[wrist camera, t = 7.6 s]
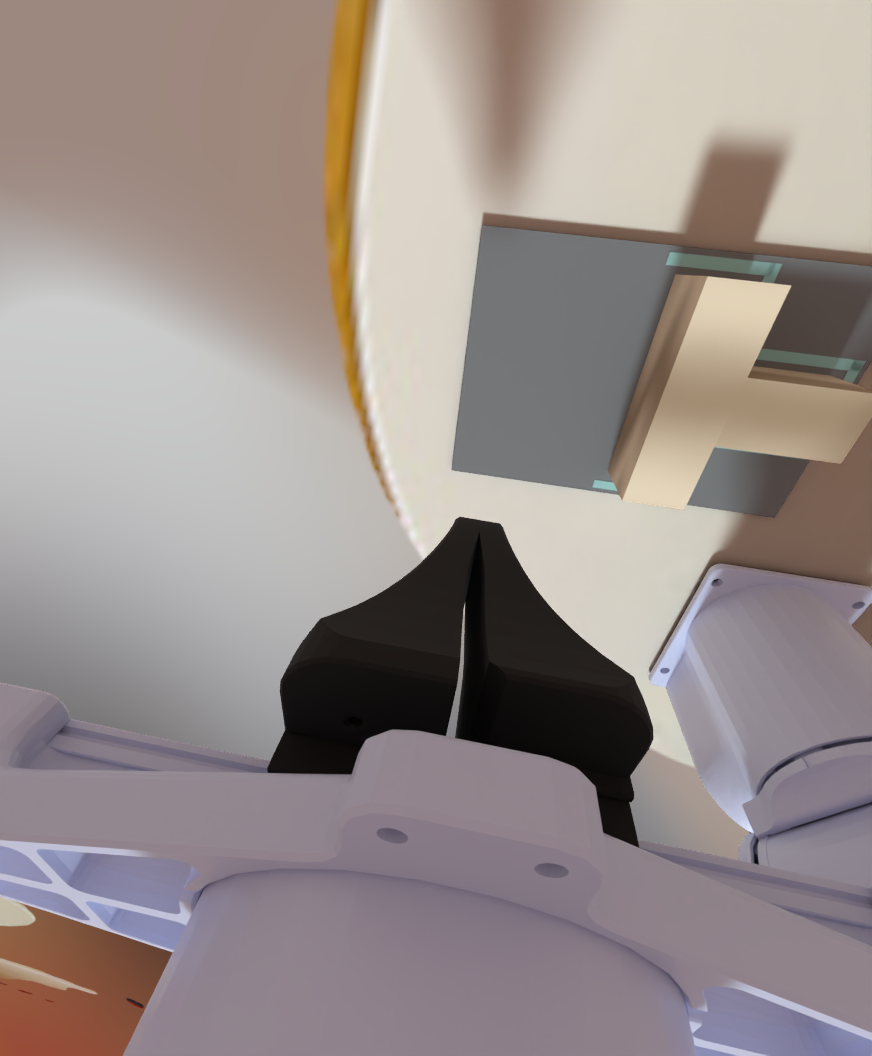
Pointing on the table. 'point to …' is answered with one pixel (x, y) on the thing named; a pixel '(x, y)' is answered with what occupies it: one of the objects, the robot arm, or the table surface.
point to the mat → (627, 355)
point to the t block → (724, 394)
